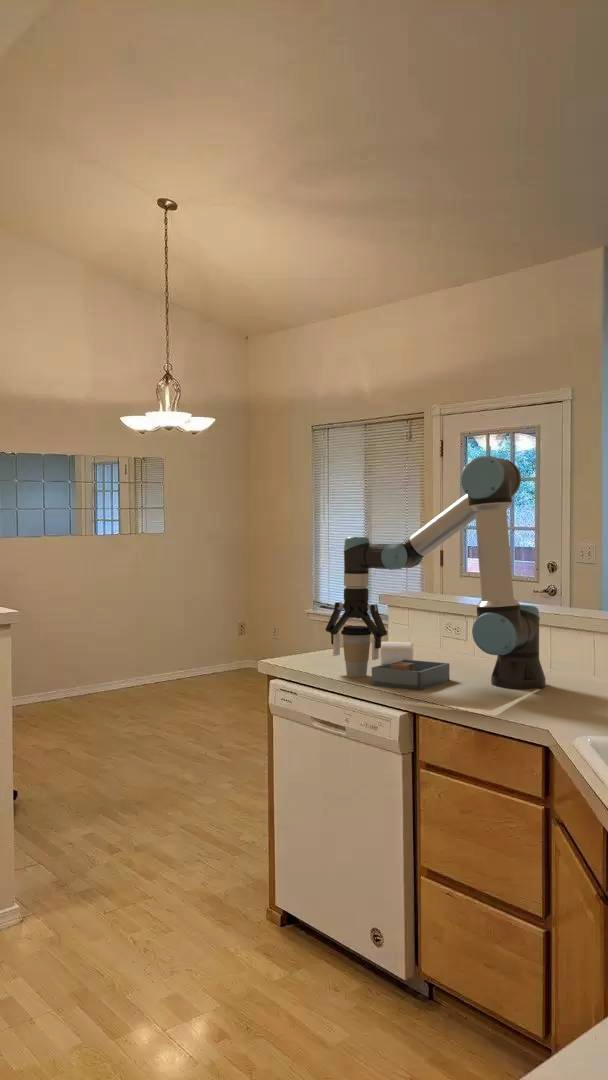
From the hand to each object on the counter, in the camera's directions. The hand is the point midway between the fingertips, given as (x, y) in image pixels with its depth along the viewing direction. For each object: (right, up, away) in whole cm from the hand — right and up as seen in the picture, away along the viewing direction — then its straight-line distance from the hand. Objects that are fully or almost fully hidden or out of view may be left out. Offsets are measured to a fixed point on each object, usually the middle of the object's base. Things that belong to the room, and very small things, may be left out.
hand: (355, 657), depth 259 cm
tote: (+15, -6, -12) cm, 20 cm away
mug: (+15, -6, +22) cm, 27 cm away
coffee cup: (0, -6, 0) cm, 6 cm away
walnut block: (+12, -5, -16) cm, 21 cm away
